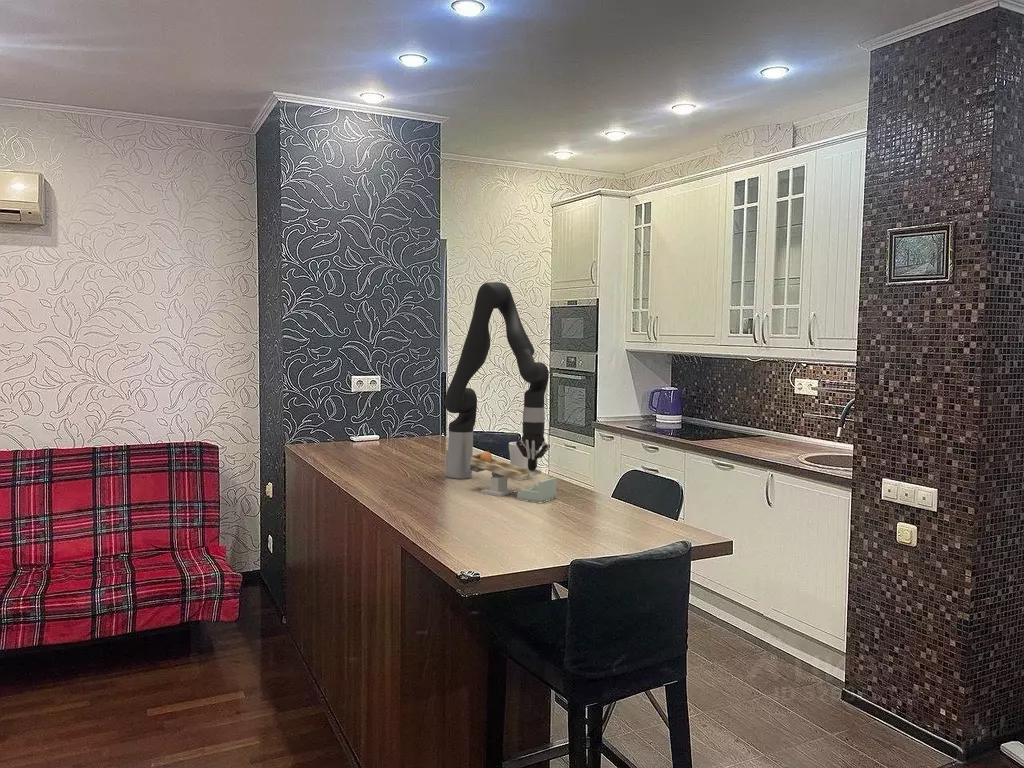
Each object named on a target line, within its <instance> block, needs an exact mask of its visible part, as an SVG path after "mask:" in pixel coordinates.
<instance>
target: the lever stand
mask: <svg viewBox="0 0 1024 768" xmlns="http://www.w3.org/2000/svg"><path fill="white" fill-rule="evenodd" d="M508 479H509V477H506V476H503V475H498V476H490V487H488V488H484V489H481V490H480V493H481V494H483V493H484V494H485V495H489V494H490V495H491V496H494V497H495V496H496V497H500V496H501V497H503V496H507V495H510V494H509V493H511V494H513V493H512V492H514V491H516V492H517V488H515V487H513V488H512V487H508V481H509V480H508ZM514 493H515V492H514ZM484 494H483V495H484ZM506 494H507V495H506ZM490 495H489V496H490Z"/></svg>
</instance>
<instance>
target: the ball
mask: <svg viewBox="0 0 1024 768" xmlns="http://www.w3.org/2000/svg"><path fill="white" fill-rule="evenodd" d="M481 453H482V454H481ZM481 453H480V454H481V455H480V459H481V461H484V462H487V463H488V462H490V461H491V459H493V458H492V457H493V456H492V453H491V452H490V451H483V452H481Z"/></svg>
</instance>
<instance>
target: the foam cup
mask: <svg viewBox="0 0 1024 768" xmlns="http://www.w3.org/2000/svg"><path fill="white" fill-rule="evenodd" d="M516 442H517V441H511V442H508V452H509V460H510V461H509V462H510V463H509V464H511V465H514V466H517V467H520V468H523V469H524V468H528V458H526V457H524V456H523V455H522V453H521V452H520V450H519V448H518V447H517V445H516ZM524 446H525V445H524ZM525 447H526V446H525Z"/></svg>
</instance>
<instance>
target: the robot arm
mask: <svg viewBox="0 0 1024 768" xmlns="http://www.w3.org/2000/svg"><path fill="white" fill-rule="evenodd" d="M478 288H479V289H478V291H477V294H476V299H475V303H474V308H473V312H472V318H471V321H470V323H469V328H468V331H467V335H466V337H465V340H464V343H463V347H462V349H461V353H460V356H459V361H458V363H457V366H456V368H455V372H454V374H453V377H452V380H451V382H450V383H449V386H448V388H447V390H446V393H445V397H444V406H445V410H447V412H448V413H450V414H458V416H457V418H455V419H454V420H452V421H450V422H449V424H448V440H447V442H448V443H447V449H446V451H445V456H444V457H445V458H444V459H445V462H444V463H445V464H444V465H445V468H444V476H445V477H447V478H450V479H458V480H459V479H461V480H463V479H464V480H465V479H470V478H472V476H473V471H472V470H470V466H471V465H470V461H471V458H472V456H473V455H474V454H473V452H474V451H473V450H474V448H473V447H474V427H475V425H476V420H477V409H478V408H477V407H478V398H477V394H476V391H475V390H474V389H472V388H471V387H467V386H468V384H469V382H470V380H472V378H473V377H474V375H475V374H476V373H478V371H479V370H480V369H481V367H482V366H483V365H484V364H485V362H486V360H487V357H488V354H489V352H490V348H491V335H490V330H489V329H490V328H489V327H490V325H489V324H490V320H491V317H492V314H493V311H494V309H497V310H498V311H499V312H500V315H502V317H503V320H504V323H505V331H506V333H505V334H506V335H505V336H506V339H507V343H508V345H509V347H510V349H511V351H512V353H513V355H514V356H515V359H516V363H517V367H518V371H519V374H520V376H521V378H522V379H523V380H524V382H526V383H528V384H529V388H528V389H527V390H526V391H524V395H523V410H522V436H521V439H520V440H519V441H515V442H516V445H517V447H518V448H519V450H520V452H521V453H522V455H523V456H524V457H526V458H528V468H529V470H535V469H538V459H542V458H543V457H544V456H545V454H547V451H548V450H549V449H550V447H551V444H548V443H547V442H546V439H545V436H544V435H545V419H546V417H545V416H546V414H545V413H546V411H545V394H546V392H547V386H548V383H549V379H550V378H549V377H550V373H549V369H548V367H547V365H546V364H545V362H544V363H543V362H541V361H540V362H539V361H537V362H536V360H535V358H534V357H533V355H534V354H535V348H534V346H533V344H532V342H531V340H530V338H529V336H528V334H527V333H526V330H525V328H524V326H523V323H522V320H521V318H520V314H519V312H518V309H517V306H516V303H515V300H514V297H513V294H512V291H511V290H510V288H509V286H508V285H507V284H506V283H503V282H495V281H494V282H493V281H491V282H490V281H489V282H484V283H482V284H481V286H480V287H478ZM524 445H525V446H526V447H525V446H524Z"/></svg>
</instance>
